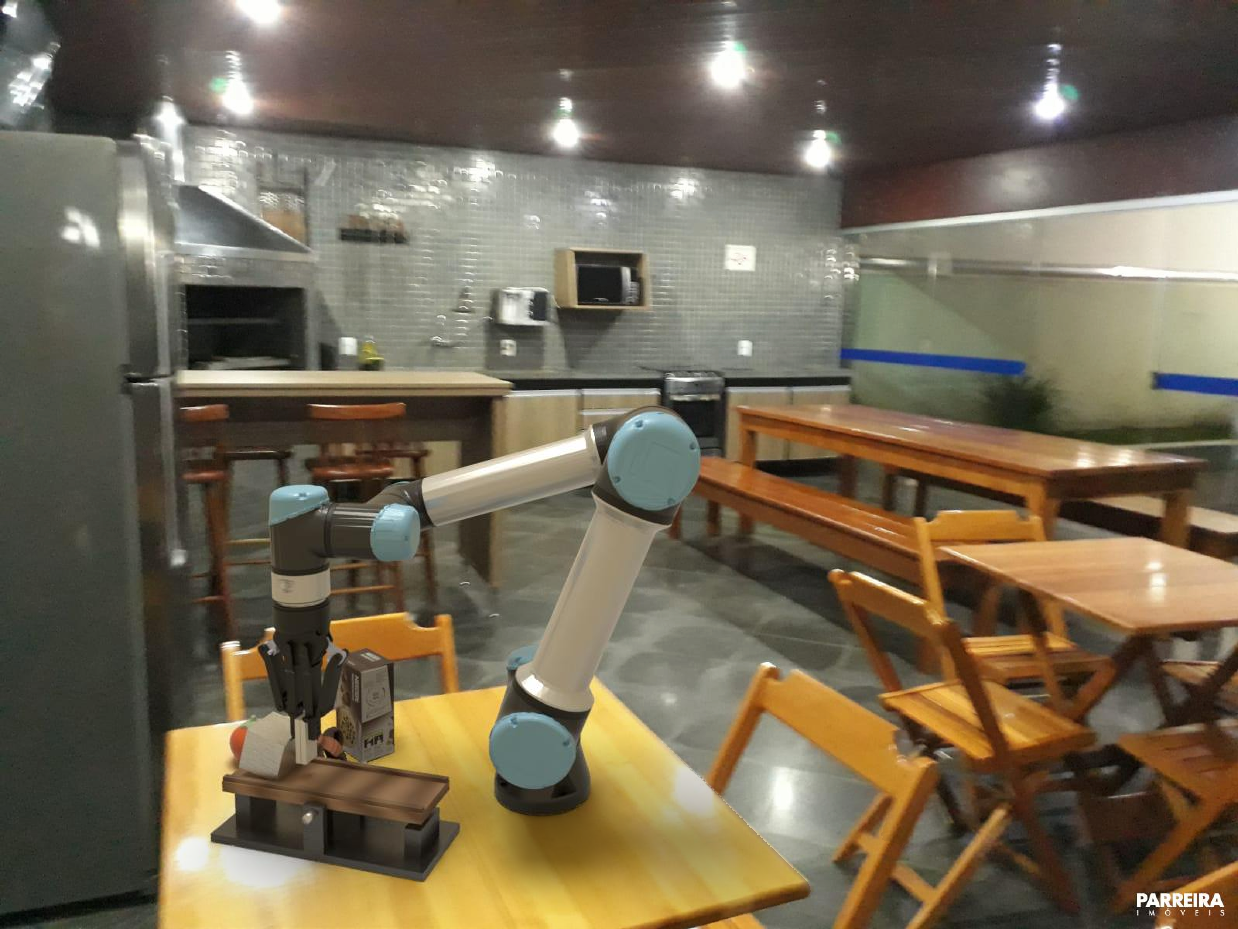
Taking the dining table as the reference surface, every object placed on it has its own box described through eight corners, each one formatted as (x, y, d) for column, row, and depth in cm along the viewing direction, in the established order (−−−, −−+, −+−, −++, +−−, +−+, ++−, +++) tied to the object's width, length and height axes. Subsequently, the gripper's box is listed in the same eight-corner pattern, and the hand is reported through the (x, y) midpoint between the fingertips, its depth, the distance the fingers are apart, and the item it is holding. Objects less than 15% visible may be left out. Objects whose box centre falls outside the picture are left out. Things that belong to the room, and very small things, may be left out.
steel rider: (300, 762, 126) (309, 727, 125) (275, 783, 120) (284, 746, 119) (264, 747, 127) (273, 711, 126) (238, 767, 121) (246, 730, 120)
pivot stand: (464, 824, 127) (464, 774, 126) (417, 889, 112) (417, 833, 111) (270, 791, 134) (268, 743, 132) (202, 848, 119) (200, 794, 118)
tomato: (280, 767, 141) (279, 721, 140) (230, 776, 138) (228, 729, 136) (277, 746, 147) (276, 702, 146) (229, 754, 144) (228, 709, 143)
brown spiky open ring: (345, 796, 134) (315, 759, 131) (295, 814, 136) (265, 777, 133) (369, 742, 145) (342, 706, 142) (323, 759, 147) (295, 724, 144)
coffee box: (396, 752, 147) (395, 662, 145) (361, 764, 143) (360, 672, 140) (368, 733, 153) (367, 646, 151) (334, 744, 149) (333, 655, 146)
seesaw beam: (449, 789, 123) (449, 776, 123) (421, 824, 114) (421, 810, 114) (262, 760, 129) (261, 747, 129) (222, 791, 121) (221, 777, 120)
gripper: (241, 602, 116) (248, 765, 120) (329, 612, 113) (334, 779, 117) (275, 586, 123) (281, 740, 127) (359, 595, 121) (362, 753, 124)
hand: (306, 759), depth 122 cm, fingers closed
